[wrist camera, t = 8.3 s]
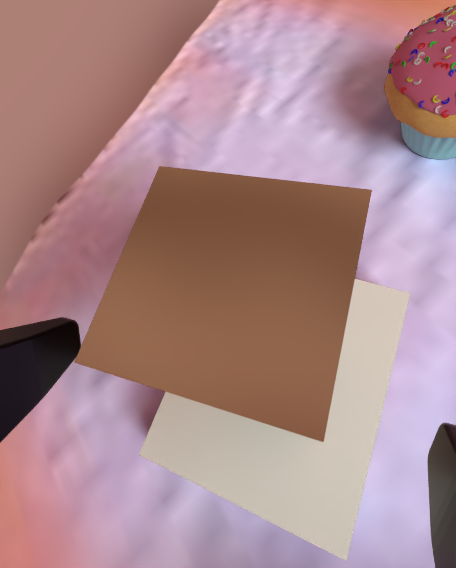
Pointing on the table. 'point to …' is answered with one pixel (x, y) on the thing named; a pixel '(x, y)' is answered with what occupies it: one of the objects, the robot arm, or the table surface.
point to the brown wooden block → (234, 295)
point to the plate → (295, 436)
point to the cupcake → (426, 86)
